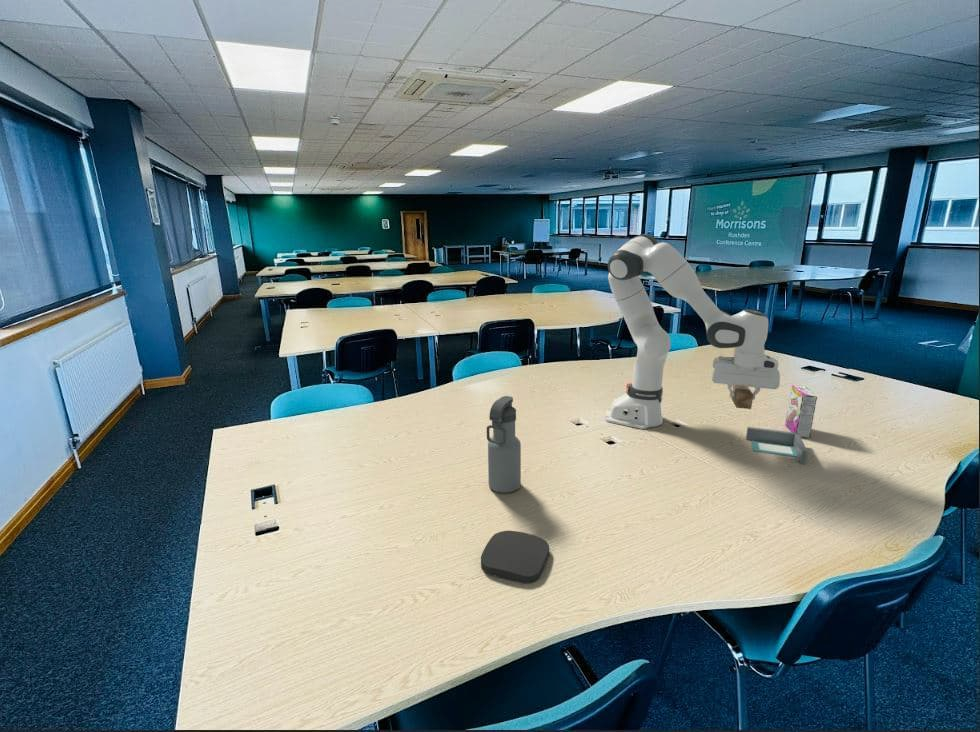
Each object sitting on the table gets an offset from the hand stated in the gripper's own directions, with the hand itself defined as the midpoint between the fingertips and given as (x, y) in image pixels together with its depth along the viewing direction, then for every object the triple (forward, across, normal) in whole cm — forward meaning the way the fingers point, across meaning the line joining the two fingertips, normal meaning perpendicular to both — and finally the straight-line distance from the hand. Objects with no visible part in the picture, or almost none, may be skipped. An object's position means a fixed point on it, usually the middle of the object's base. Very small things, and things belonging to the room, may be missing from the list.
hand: (741, 397), depth 166 cm
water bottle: (+19, -67, -53) cm, 87 cm away
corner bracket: (+18, +12, +1) cm, 22 cm away
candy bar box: (+18, +22, +21) cm, 36 cm away
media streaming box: (+20, -53, -83) cm, 100 cm away
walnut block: (+2, 0, 0) cm, 2 cm away
